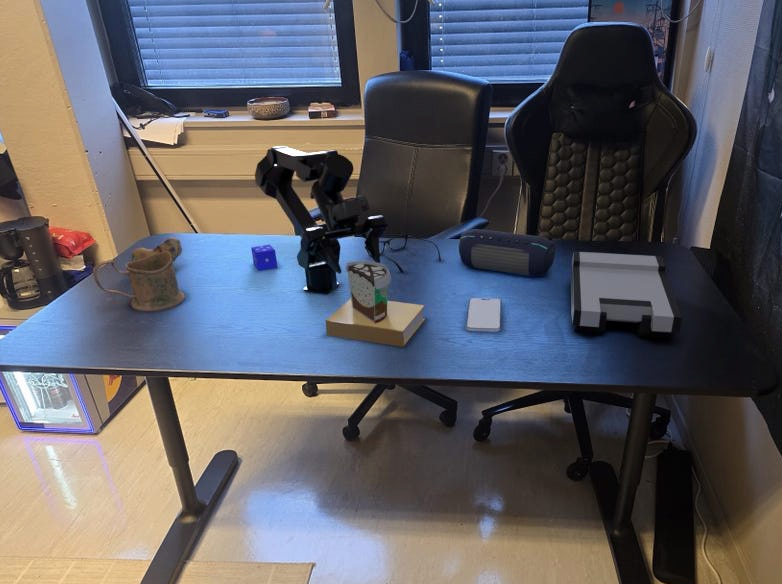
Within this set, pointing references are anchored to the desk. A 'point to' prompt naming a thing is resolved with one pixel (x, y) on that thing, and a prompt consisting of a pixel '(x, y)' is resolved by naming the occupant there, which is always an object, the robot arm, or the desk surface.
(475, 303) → the smartphone
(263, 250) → the die
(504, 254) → the portable speaker
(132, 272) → the mug
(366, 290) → the food container
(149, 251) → the lion figurine
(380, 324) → the book
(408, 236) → the eyeglasses
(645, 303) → the game console
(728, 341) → the desk surface
